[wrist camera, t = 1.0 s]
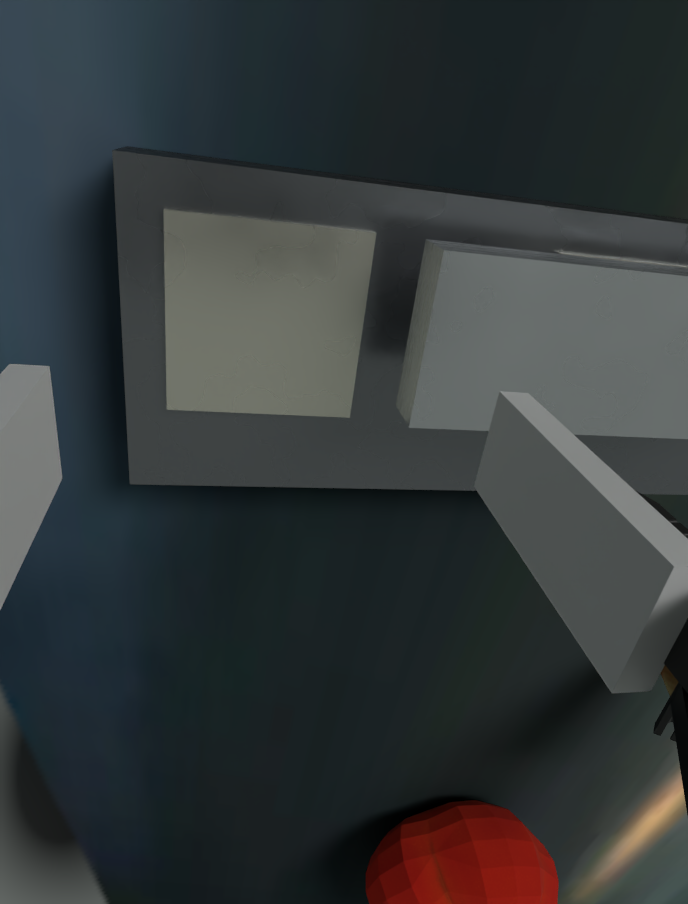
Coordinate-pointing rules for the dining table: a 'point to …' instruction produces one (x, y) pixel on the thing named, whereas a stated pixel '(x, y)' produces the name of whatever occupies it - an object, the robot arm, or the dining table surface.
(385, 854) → the tomato
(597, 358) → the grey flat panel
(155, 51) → the dining table surface
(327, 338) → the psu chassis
